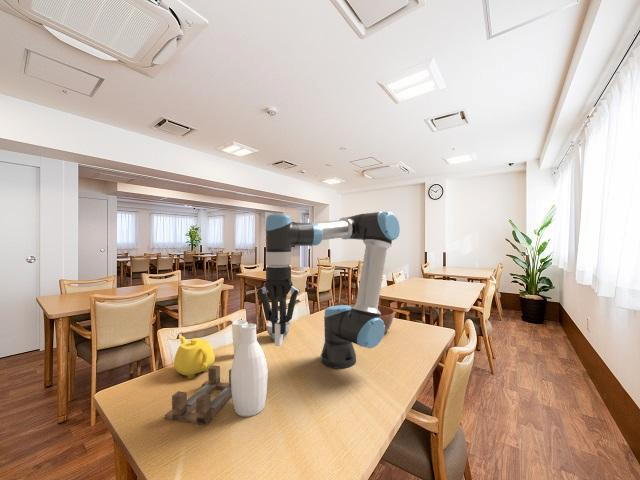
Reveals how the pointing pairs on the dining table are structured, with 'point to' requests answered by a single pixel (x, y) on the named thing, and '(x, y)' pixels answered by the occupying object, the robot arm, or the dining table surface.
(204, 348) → the teapot
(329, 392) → the dining table surface
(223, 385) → the cradle
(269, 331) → the teacup
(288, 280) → the robot arm
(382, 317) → the bowl
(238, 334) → the white pillar candle
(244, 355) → the bottle
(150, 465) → the dining table surface
